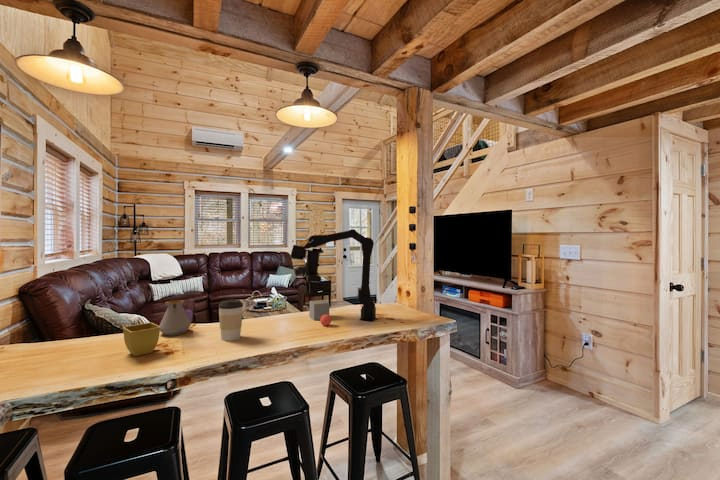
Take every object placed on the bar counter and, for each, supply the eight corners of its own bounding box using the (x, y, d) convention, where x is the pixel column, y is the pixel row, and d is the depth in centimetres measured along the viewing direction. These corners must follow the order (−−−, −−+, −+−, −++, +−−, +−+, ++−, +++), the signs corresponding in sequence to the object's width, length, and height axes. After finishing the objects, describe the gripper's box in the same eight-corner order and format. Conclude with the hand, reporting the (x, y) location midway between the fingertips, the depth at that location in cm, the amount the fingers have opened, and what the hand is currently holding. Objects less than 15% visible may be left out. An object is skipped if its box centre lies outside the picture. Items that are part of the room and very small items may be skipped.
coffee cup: (217, 336, 131) (218, 298, 131) (241, 333, 135) (242, 297, 135) (218, 343, 123) (218, 303, 123) (244, 340, 127) (244, 301, 127)
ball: (333, 325, 149) (333, 314, 149) (326, 327, 145) (326, 316, 144) (324, 323, 151) (324, 312, 151) (317, 325, 147) (317, 314, 147)
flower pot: (151, 346, 118) (151, 321, 118) (160, 352, 113) (160, 326, 113) (122, 353, 111) (122, 327, 111) (130, 360, 106) (130, 332, 106)
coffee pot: (159, 330, 137) (159, 294, 137) (190, 327, 143) (190, 292, 142) (155, 346, 118) (155, 305, 118) (191, 342, 124) (191, 302, 123)
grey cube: (324, 315, 166) (324, 299, 166) (329, 318, 160) (329, 302, 159) (309, 316, 163) (309, 301, 163) (313, 320, 156) (314, 304, 156)
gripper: (293, 257, 164) (290, 288, 165) (298, 262, 147) (294, 296, 147) (315, 259, 168) (312, 289, 168) (323, 264, 150) (319, 297, 151)
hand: (309, 293), depth 158 cm, fingers open, 9 cm apart
